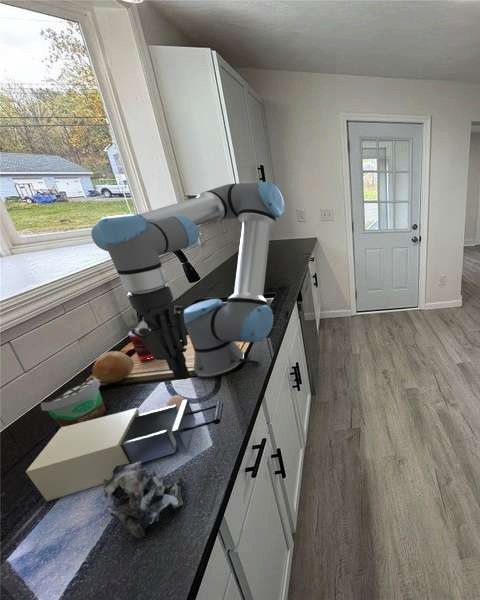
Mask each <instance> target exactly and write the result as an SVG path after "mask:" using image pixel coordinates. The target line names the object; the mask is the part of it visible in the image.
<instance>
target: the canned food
mask: <svg viewBox="0 0 480 600" xmlns="http://www.w3.org/2000/svg"><path fill="white" fill-rule="evenodd" d="M128 336H129V339H130V341H131V343H132V346H133V348H134V351H135V353H136V355H137V357H138V359H139V358H141V359H139V361H141V362H149V361H153V360H156V359H155V358H154V357H153V355H152V354H151V353H150V351H149V350H148V349H147V347H146V346H145V345H144V343H143V342H142V341H141V340H140V338H139V337H137V336H136V335H134V334H132V330H130V331H129V332H128ZM151 357H153V358H151ZM147 358H150V359H147Z"/></svg>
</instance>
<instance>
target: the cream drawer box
mask: <svg viewBox="0 0 480 600" xmlns="http://www.w3.org/2000/svg"><path fill="white" fill-rule="evenodd" d="M139 414H141V413H140V410H139V409H138V407H136V408H132V409H128V410H124V411H119V412H117V413H116V412H115V413H113V414H108V415H103V416H101V417H100V418H97V419H93V420H89V421H85V422H81V423H77V424H74V425H70V426H66V427H62V428H61V427H60V428H59V429H58V431H57V432H56V433H55V434H54V436H52V438H51V439H50V440H49V442H48V443H47V445H46V446H45V447H44V448H43V449H42V450H41V452H40V453H39V454H38V455H37V457H36V458H35V459H34V461H33V462H32V463H31V464H30V465H29V466H28V468H27V469H26V470H25V473H26V474H27V476H28V478H29V479H30V480H31V481H32V483H33V484H34V486H35V487H36V489H37V490H38V491H39V493H40V494H41V496H42V497H43V498H44V500H45V501H46V502H49V501H52V500H56V499H59V498H62V497H65V496H69V495H72V494H75V493H78V492H81V491H84V490H87V489H90V488H93V487H96V486H100V485H104V479H106V480H110V479H111V478H112V476H113V470H114V469H115V468H116V466H119V465H124V464H128V463H129V461H128V459H127V458H126V456H125V454H124V452H123V450H122V448H121V446H120V445H121V443H122V441H123V439H124V437H125V435H126V433H127V431H128V429H129V427H130V426H131V424H132V422H133V420H134V418H135V416H136V415H139ZM129 465H130V464H129Z"/></svg>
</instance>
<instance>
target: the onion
mask: <svg viewBox="0 0 480 600" xmlns="http://www.w3.org/2000/svg"><path fill="white" fill-rule="evenodd" d="M134 366H135V362H134V360H133V359H132V358H131V357H130V356H129V355H127V354H126V353H124V352H121V351H117V350H115V351H113V350H110V351H107V352H105V353H103V354H102V355H101V356H99V357H98V358H97V359H96V360H95V362H94V364H93V366H92V370H91V371H92V374H93V376H94V377H95V378H96V379H97V380H98V381H101V382H104V383H107V384H108V383H111V384H112V383H118V382H119V383H120V382H121V381H123V380H125V379H126V378H127V377H128V376H129V375H130V374H131V373H132V371H133V369H134Z"/></svg>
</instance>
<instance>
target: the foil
mask: <svg viewBox="0 0 480 600" xmlns="http://www.w3.org/2000/svg"><path fill="white" fill-rule="evenodd" d="M141 461H142V460H141ZM141 461H139V462H138V461H136V463H135V462H132V463H134V464H132V463H128V464H124V465H119V466H116V468H115V469H114V470H113V476H112V478H111V479H110V480H106V479H104V483H103V491H104V494H103V499H104V500H103V501H102V500H100V502H101V503H102V504H103V506H104V507H105V510H106V513H107V515H108V517H113V518H114V517H115V518H116V519H117V520H119V521H120V522H121V524H122V525H123V526H124V528H125V529H127V531H128V532H129V534H131V535H133V536H134V537H136V538H137V539H143V538H144V537H145V536H146V529H147V528H148V527H149V526H150V525H152V524H153V523H155V522H158V521H159V520H160V518H159V516H160V512H162V511H163V509H164V508H166V507H168V506H169V505H170V506H171V507H172V509H174V510H175V509H180V508H181V507H182V506H183V504H184V500H183V499H182V498H183V497H182V486H183V479H182V477H179V478H178V479H177V480H176V481H175V482H173V483H172V484H168V485H165V484H164V475H163V473H161V472H160V471H159V470H158V471H157V472H158V473H160V474H162V475H161V476H160V477H159V478H158V476H157V472H156V469H153V471H152V473H150V472H149V470H148V469H147V467H143V468H142V466H143V465H142V463H141ZM129 464H131V465H129ZM146 490H147V493H146V494H145V495H144V492H145V491H146ZM96 496H97V498H96V499H97V501H98V499H99V497H98V495H96ZM109 497H112V498H115V499H117V500H118V501H121V500H125V499H128V498H129V502H128V503H126V504H123V505H121V506H118V507H115V508H113V509H112V508H111V506H110V505H109V504H108V505H107V503H106V501H107V499H108V498H109ZM153 497H154V498H155V499H158V501H156V502H153V503H151V502H152V499H153Z"/></svg>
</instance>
